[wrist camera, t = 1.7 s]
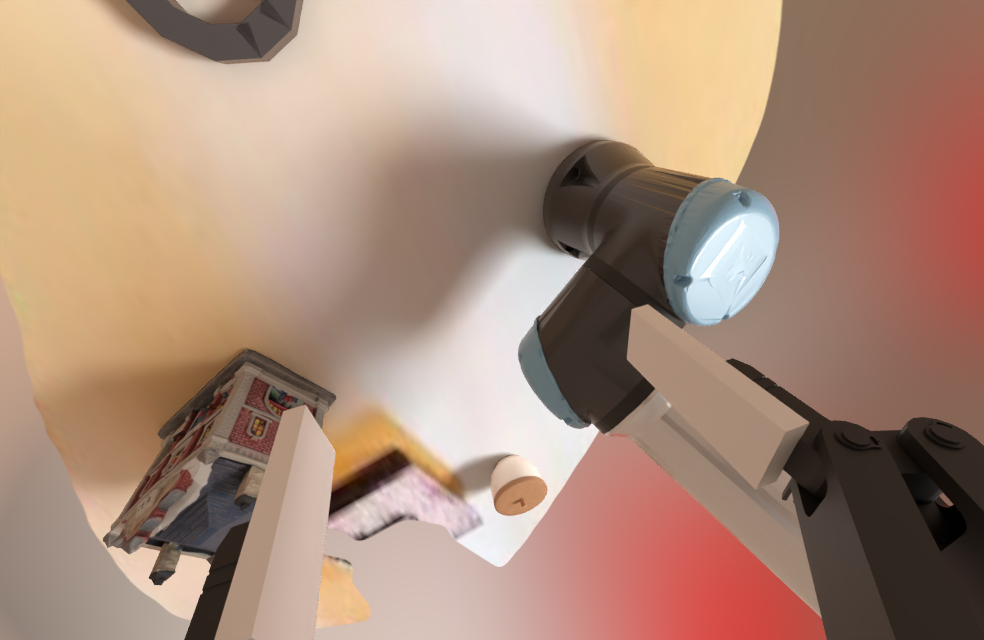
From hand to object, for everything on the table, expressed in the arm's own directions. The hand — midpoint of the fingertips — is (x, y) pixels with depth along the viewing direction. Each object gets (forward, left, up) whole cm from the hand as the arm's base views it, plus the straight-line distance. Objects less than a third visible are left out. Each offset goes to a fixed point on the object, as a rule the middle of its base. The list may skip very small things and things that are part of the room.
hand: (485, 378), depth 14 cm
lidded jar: (-9, +56, -33) cm, 66 cm away
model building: (+28, +26, -33) cm, 51 cm away
